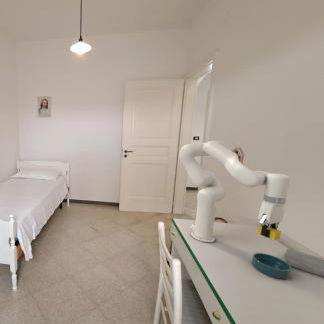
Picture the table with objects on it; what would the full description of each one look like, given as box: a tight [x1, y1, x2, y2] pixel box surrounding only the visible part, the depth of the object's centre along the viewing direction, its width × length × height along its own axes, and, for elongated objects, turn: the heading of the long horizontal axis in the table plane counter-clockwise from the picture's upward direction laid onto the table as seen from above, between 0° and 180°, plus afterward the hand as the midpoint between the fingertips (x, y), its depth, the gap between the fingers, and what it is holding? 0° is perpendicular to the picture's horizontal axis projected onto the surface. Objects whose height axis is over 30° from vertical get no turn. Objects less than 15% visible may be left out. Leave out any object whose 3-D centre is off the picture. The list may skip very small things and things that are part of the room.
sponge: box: [256, 225, 282, 241], centre depth 99 cm, size 7×4×4 cm, turn 17°
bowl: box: [251, 252, 293, 280], centre depth 97 cm, size 13×13×4 cm
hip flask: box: [285, 248, 324, 278], centre depth 99 cm, size 16×4×20 cm
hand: (268, 235), depth 99 cm, fingers closed on sponge, 4 cm apart
